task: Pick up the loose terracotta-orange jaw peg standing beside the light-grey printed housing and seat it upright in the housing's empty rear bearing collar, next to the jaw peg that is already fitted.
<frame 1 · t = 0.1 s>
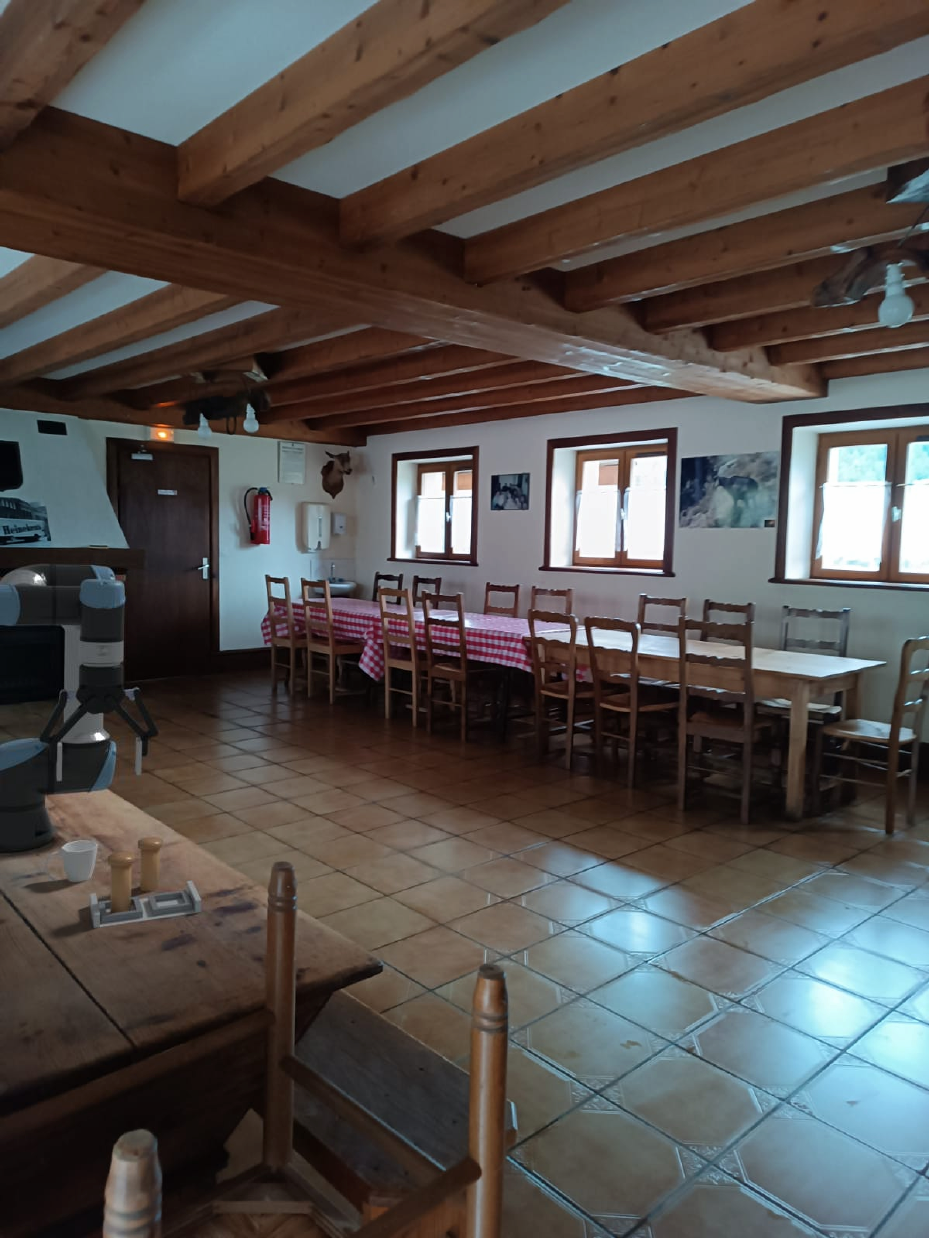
hand: (99, 776, 159), 28 cm above the table, fingers open, 13 cm apart
cup: (71, 884, 177), on the table
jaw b: (149, 893, 174), on the table
jaw a: (120, 912, 162), point 1 cm above the table, touching housing
housing: (145, 914, 164), on the table
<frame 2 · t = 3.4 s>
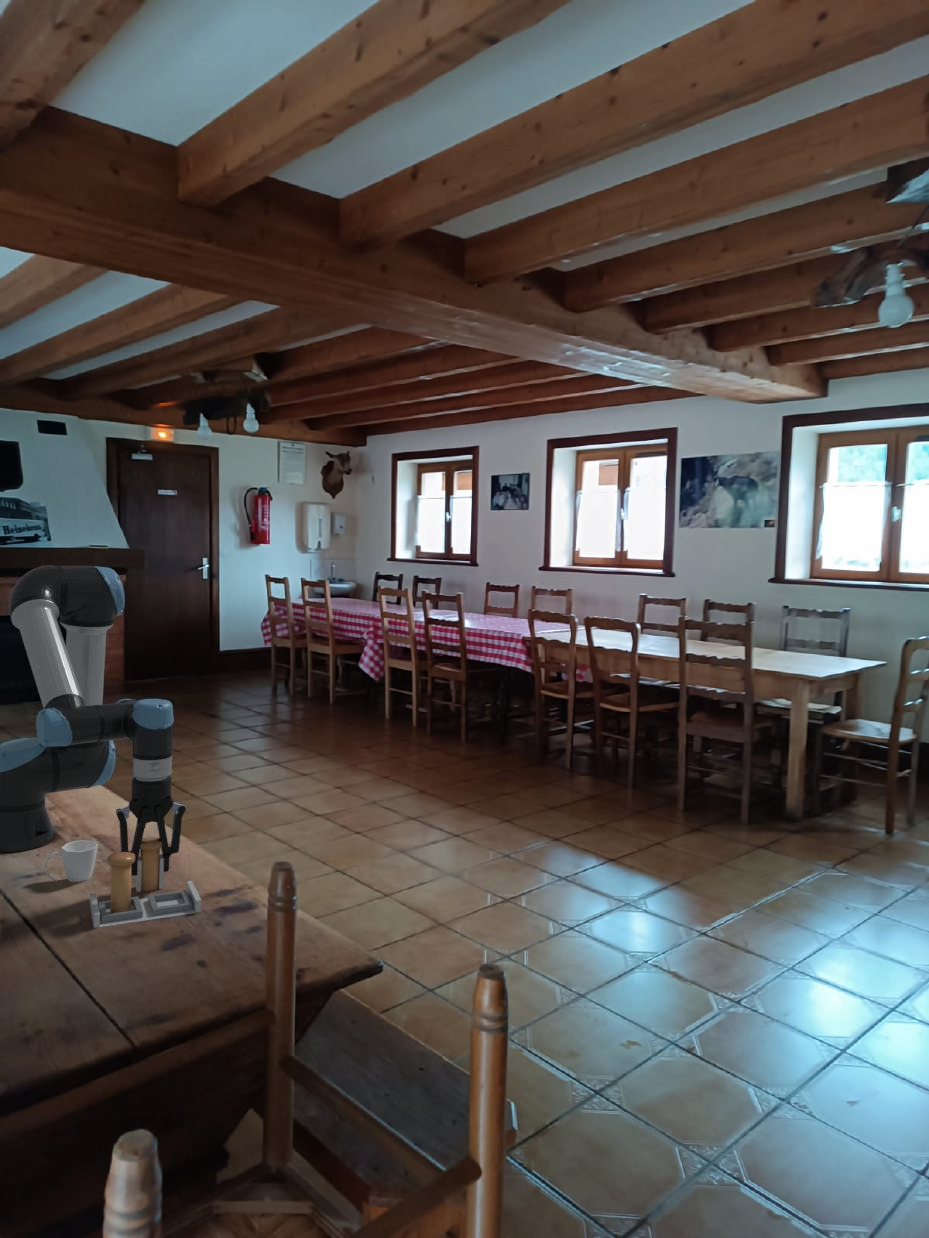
hand: (149, 887, 174), 1 cm above the table, fingers closed on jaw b, 3 cm apart
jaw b: (149, 893, 174), on the table, touching gripper
everything else where it was.
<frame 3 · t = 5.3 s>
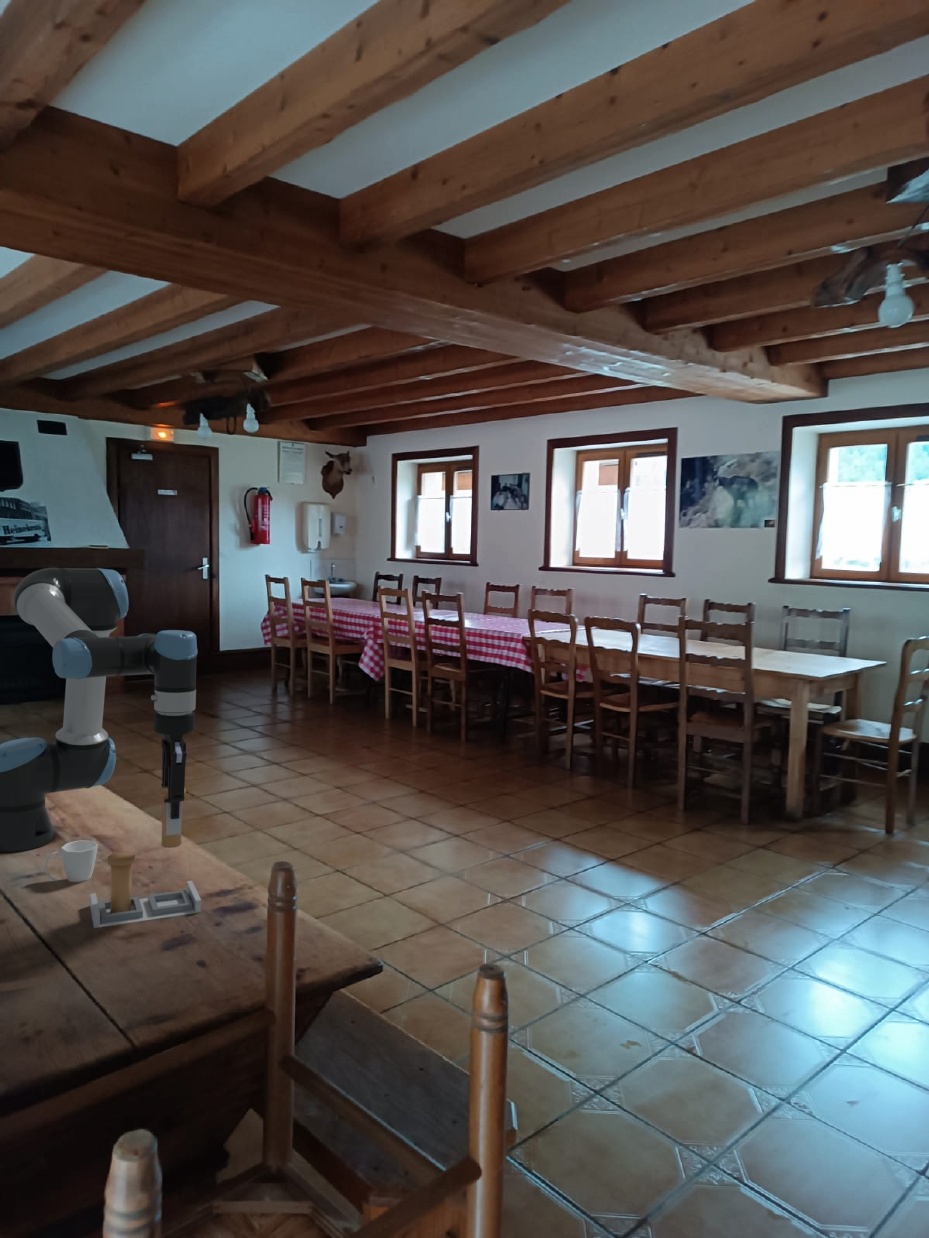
hand: (171, 830, 165), 16 cm above the table, fingers closed on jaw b, 3 cm apart
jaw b: (171, 844, 165), point 14 cm above the table, touching gripper
everything else where it was.
when the fingers open (4 cm above the table, at t = 7.4 s): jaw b stays where it is, resting on housing.
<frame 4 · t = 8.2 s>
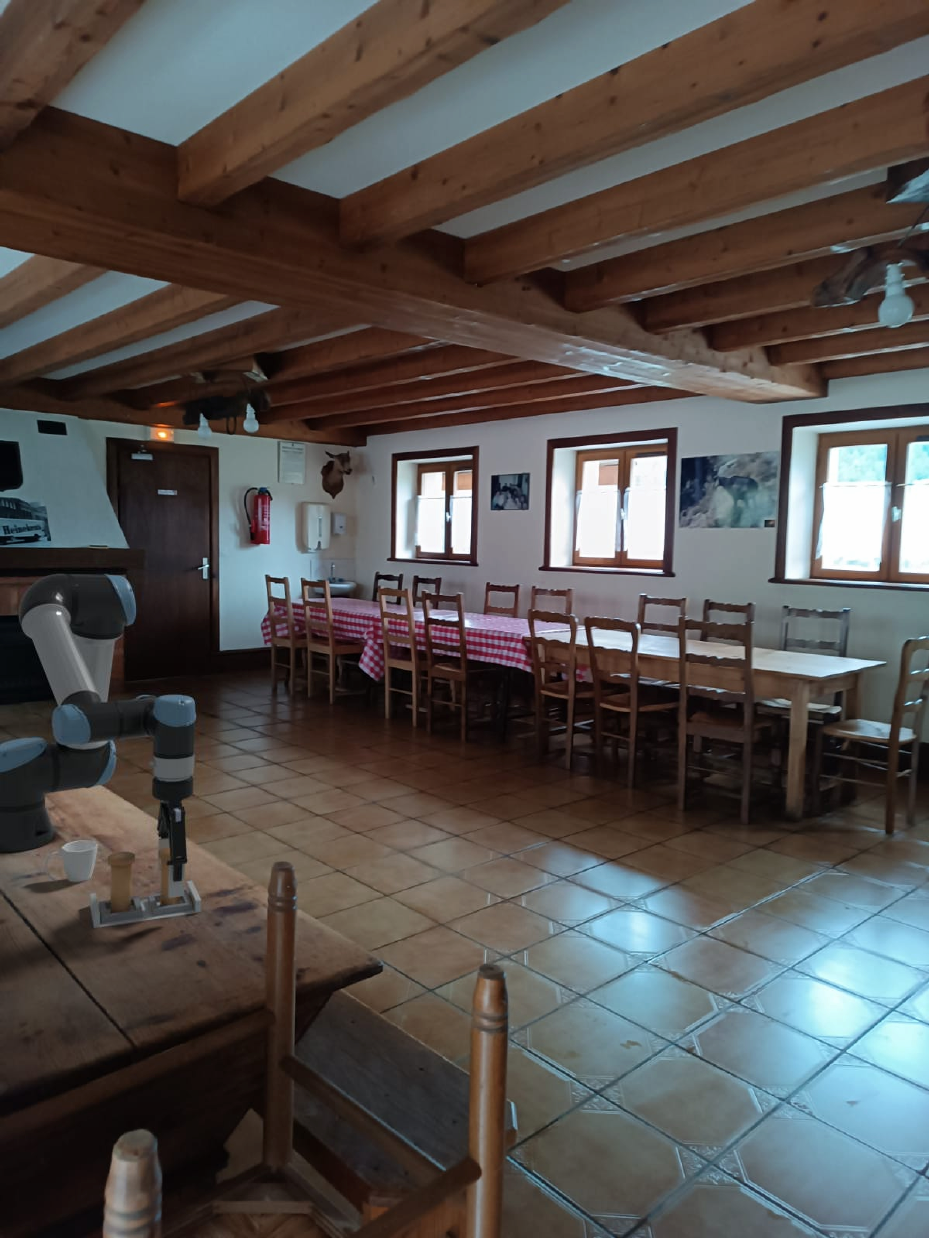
hand: (170, 882, 166), 6 cm above the table, fingers open, 13 cm apart
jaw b: (169, 905, 166), point 1 cm above the table, touching housing
everything else where it was.
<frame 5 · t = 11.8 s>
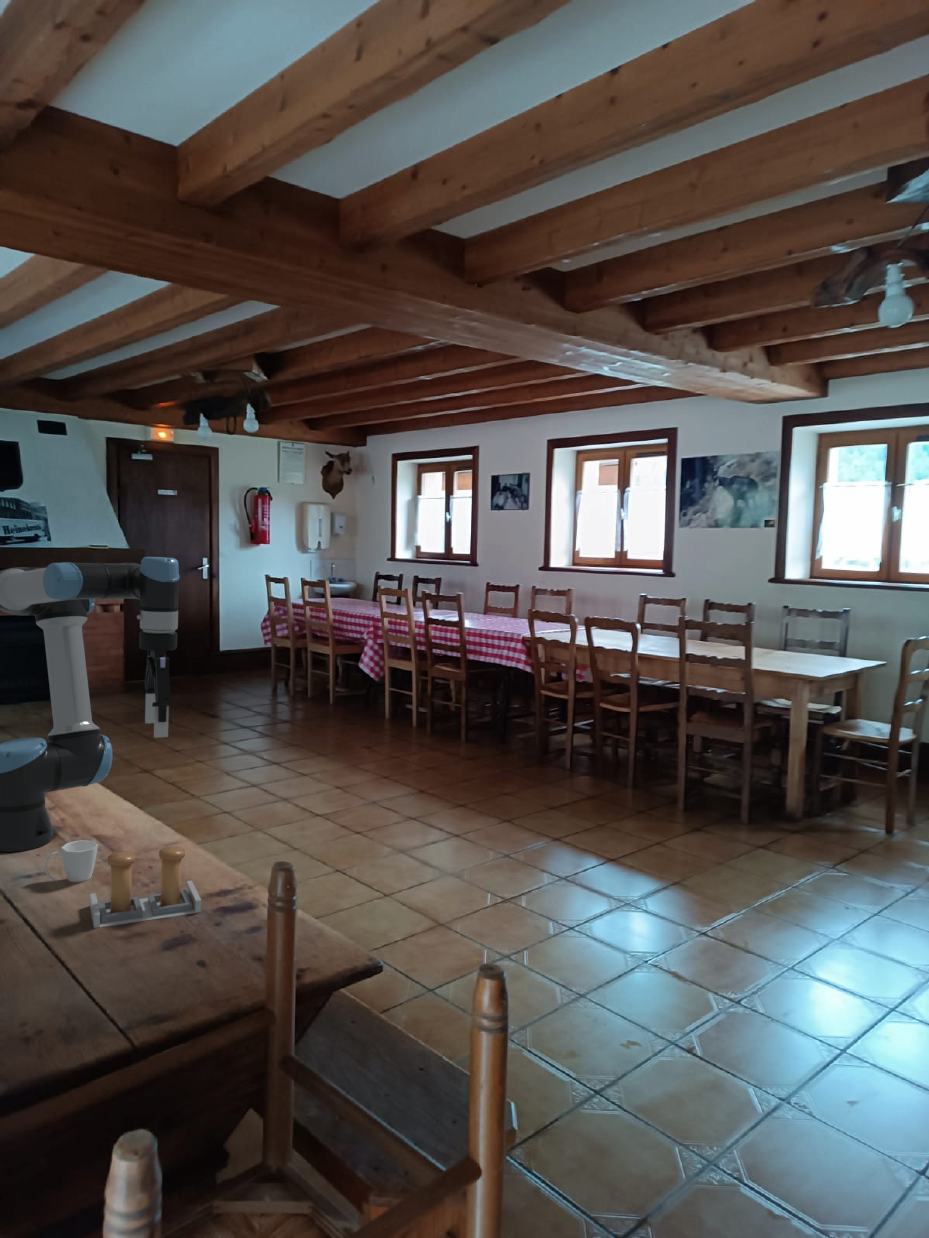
hand: (156, 729, 181), 32 cm above the table, fingers open, 13 cm apart
nothing on the table moved.
at the end: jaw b 0.1 cm from the target spot on the housing, point 1.2 cm above the housing's base; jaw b tilted 1°; the gripper is holding nothing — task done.
